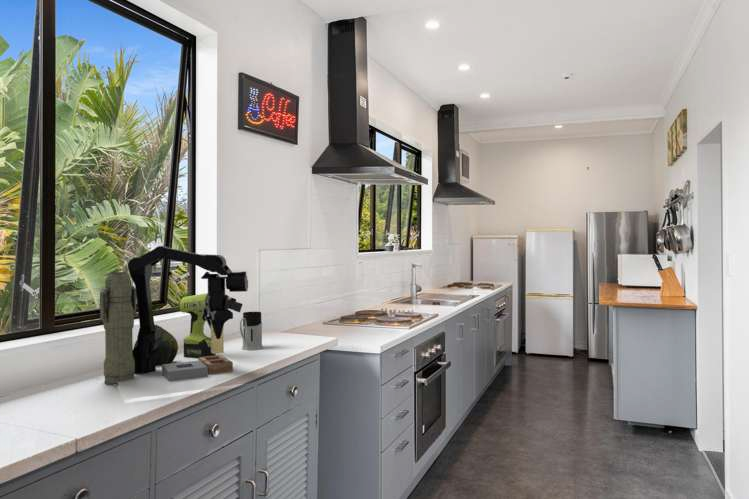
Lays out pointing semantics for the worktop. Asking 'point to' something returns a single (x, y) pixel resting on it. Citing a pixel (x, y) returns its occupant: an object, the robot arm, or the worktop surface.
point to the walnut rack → (217, 364)
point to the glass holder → (251, 331)
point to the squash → (165, 348)
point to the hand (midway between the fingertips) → (217, 337)
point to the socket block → (184, 370)
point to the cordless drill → (196, 327)
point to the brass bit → (216, 343)
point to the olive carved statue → (118, 327)
